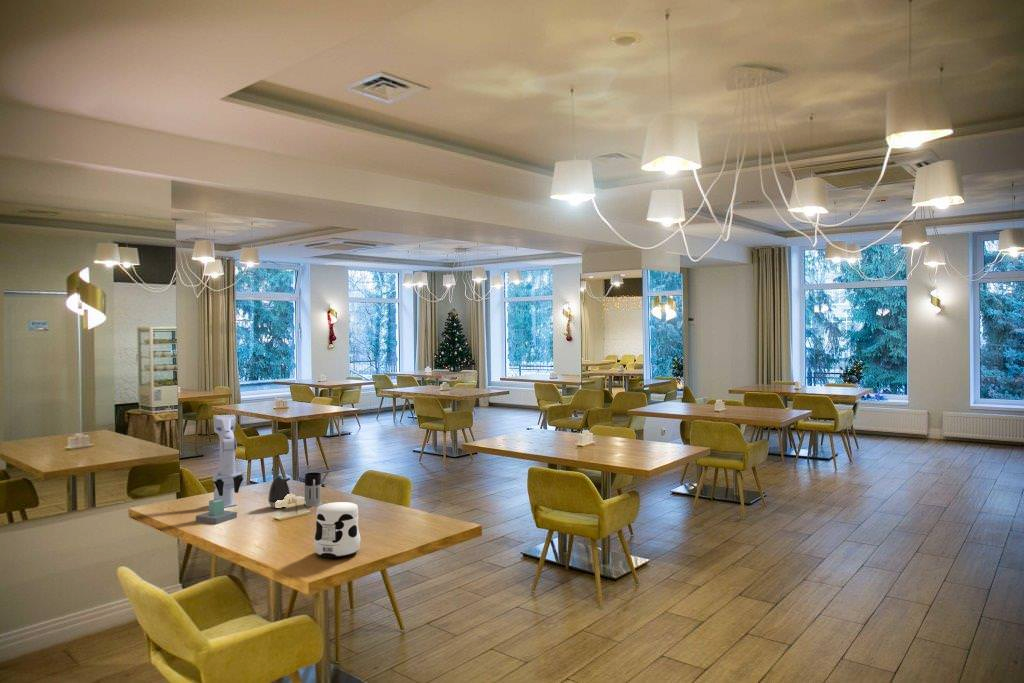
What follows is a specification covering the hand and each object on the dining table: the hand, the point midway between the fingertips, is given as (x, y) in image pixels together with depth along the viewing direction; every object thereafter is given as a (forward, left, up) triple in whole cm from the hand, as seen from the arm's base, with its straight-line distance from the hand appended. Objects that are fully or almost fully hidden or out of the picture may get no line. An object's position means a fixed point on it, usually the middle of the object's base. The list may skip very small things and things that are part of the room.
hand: (228, 494), depth 316 cm
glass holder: (+16, +35, -10) cm, 40 cm away
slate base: (+2, -7, -10) cm, 12 cm away
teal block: (+2, -7, -7) cm, 10 cm away
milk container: (+84, -5, -10) cm, 85 cm away
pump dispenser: (+6, +23, -10) cm, 26 cm away
